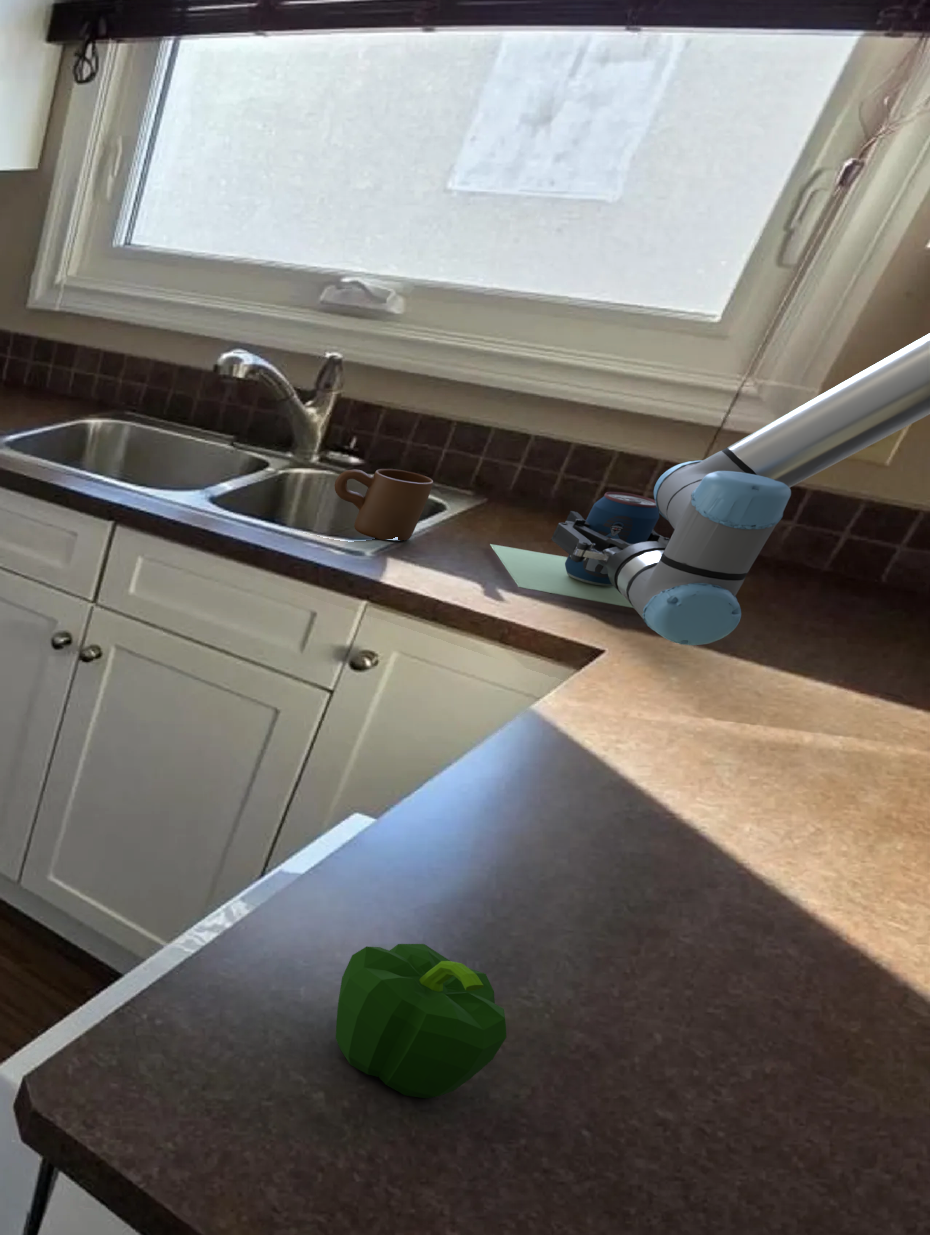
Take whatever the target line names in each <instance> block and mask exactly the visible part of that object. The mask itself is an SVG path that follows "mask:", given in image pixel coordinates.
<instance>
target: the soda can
mask: <svg viewBox="0 0 930 1235" xmlns="http://www.w3.org/2000/svg"><path fill="white" fill-rule="evenodd" d="M659 519H660V513H659V510H658V508H657V507H656V502H655V499H653V498H650V497H647V496H643V495H639V494H634V493H630V492H622V491H607V492H605V493H604V495H603V496H602V497H601V498H600V499H598V500H597V501H596V502H594V504H593V506H592V508H591V509H590V511H589V513H588V515H587V517H586V518H585V520H586V521H587V522H588V523H589V525H590V526H589V529H591V530H593V531H595V532H597V533H599V534H601V535H604V536H606V537H608V538H612V539H621V540H623V541H625V542H627V543H629V544H637V543H641V542H647V540H648V538H649V536H650V534H651V532H652V530H654V529H655V527H656V525H657V523H658V520H659ZM567 557H568V558H567V560H566V562H565V567H566V571H567V574H568V575H569V576H571V577H572V578H575V579H577V580H580V581H583V582H587V583H591V584H596V585H602V586H613V585H612V583H611V582H610V580H609V577H608V571H607V567H605V566H602V565H600V564H599V563H598V560H596V559H592V558H588V560H587V561H585V560H583V561H582V562H575V561H574V560H571V555H570V554H568V555H567Z"/></svg>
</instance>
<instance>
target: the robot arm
mask: <svg viewBox="0 0 930 1235" xmlns="http://www.w3.org/2000/svg"><path fill="white" fill-rule="evenodd" d="M927 416H930V332H929V333H928V334H926V335H924V336H922V337H921V338H918V339H917V340H915V341H913V342H912V343H909V344H908V345H906V346H904V347H903V348H901V349H899V350H898V351H896V352H894V353H892V354H890V355H888V356H887V357H884V358H883V359H882V360H880V361H878V362H876V363H875V364H873V365H871V366H869V367H867V368H866V369H863V370H862V371H860V372H859V373H856V374H854V375H853V376H852V377H849V378H848V379H846V380H844V381H842V382H841V383H839V384H837V385H835V386H834V387H832V388H830V389H828V390H826V391H825V392H823V393H821V394H819V395H817V396H816V397H814V398H812V399H811V400H809V401H807V402H805V403H803V404H802V405H800V406H798V407H796V408H794V409H793V410H791V411H790V412H788V413H786V414H784V415H782V416H780V417H778V418H777V419H775V420H773V421H772V422H770V423H768V424H767V425H764V426H763V427H761V428H759V429H757V430H755V431H754V432H752V433H750V434H749V435H747V436H745V437H744V438H741V439H739V440H738V441H736V442H734V443H732V444H731V445H729V446H728V447H725V448H723V449H721V450H720V451H717V452H715V453H714V454H712V455H709V456H708V457H707V458H704V459H703V460H701V459H700V460H691V461H690V460H689V461H686V462H682V463H679V464H676V465H674V466H672V467H670V468H669V469H667V470H666V471H665V472H663V474H661V475H660V477H659V478H658V479H657V480H656V483H655V485H654V487H653V498H654V499H653V500H655V502H656V507H657V508H658V511H659V515H661V516H662V517H663V518H664V519H665V520H667V521H668V523H669V524H670V525H671V527H672V529H674V530H673V532H672V535H671V537H670V538H669V537H664V536H663V535H661V534H659V533H658V532H656V531H655V529H653V530H652V532H651V534H650V536H649V538H648V540H647V542H641V543H637V544H629V543H627V542H625V541H623V540H621V539H612V538H608V537H606V536H604V535H601V534H599V533H597V532H595V531H593V530H591V529H589V526H590V525H589V523H588V522H587V521H586V518H585V519H584V517H583V516H582V515H581V514H580V513H579V512H578V511H573V510H570V511H569V514H568V515H567V517H566V519H565V522H558V524H557V525H556V528H555V530H554V532H553V533H552V537H551V538H550V541H552V542H553V543H554V544H555V545H557V546H558V547H559V548H561V550H563V551H565V553H567V554H568V555H569V554H570V555H571V560H574V561H575V562H582V561H583V560H585V561H587V560H588V558H592V559H596V560H598V563H599V564H600V565H602V566H605V567H607V571H608V577H609V580H610V582H611V583H612V585H613V586H614V587H615V588H616V589H617V590H618V591H619V592H620V593H621V594H622V595H623V596H624V597H625V598H626V599H627V600H628V601H629V603H630V604H631V605H632V606H633V607H634V608H633V609H634V610H635V611H636V613H638V614H639V616H640V617H641V618H642V620H643V622H644V623H645V625H646V626H647V627H649V628H650V629H651V630H652V631H654V632H655V633H656V634H658V635H659V636H660V637H662V638H664V639H666V640H667V641H669V642H672V643H675V644H679V645H681V646H683V645H684V646H701V645H708V644H712V643H714V642H717V641H720V640H722V639H723V638H726V637H727V636H729V635H730V634H731V633H732V632H733V631H734V630H735V629H736V628H737V627H738V625H739V623H740V621H741V618H742V609H741V605H740V603H739V602H738V601H739V600H738V597H737V594H738V593H739V590H740V589H741V587H742V585H743V584H744V581H745V580H746V577H747V575H748V573H749V571H750V569H751V568H752V566H753V565H754V563H755V561H756V560H757V558H758V556H759V555H760V553H761V551H762V550H763V547H764V546H765V544H766V542H767V541H768V539H769V537H770V536H771V534H772V533H773V531H774V530H775V527H776V526H777V524H779V522H780V521H781V520H782V519H783V516H784V511H785V509H786V506H787V505H788V502H789V500H790V498H791V496H792V490H791V487H794V486H796V485H797V484H799V483H801V482H803V481H805V480H807V479H809V478H811V477H812V476H813V477H814V475H817V474H818V473H820V472H822V471H824V470H826V469H828V468H830V467H832V466H833V465H835V464H837V463H840V462H841V461H843V460H845V459H847V458H849V457H851V456H853V455H854V454H857V453H859V452H860V451H862V450H864V449H867V448H868V447H870V446H872V445H874V444H876V443H878V442H880V441H881V440H884V439H885V438H887V437H889V436H891V435H893V434H895V433H897V432H898V431H901V430H902V429H904V428H906V427H908V426H911V425H913V424H914V423H916V422H918V421H919V420H922V419H924V418H925V417H927Z"/></svg>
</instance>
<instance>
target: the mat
mask: <svg viewBox="0 0 930 1235" xmlns="http://www.w3.org/2000/svg"><path fill="white" fill-rule="evenodd" d="M489 546H490V547H491V548H492V550H493V551H494V553H495V555H496V556H497V558H498V559H499V560H500V562H501V563H502V565H503V567H504V568H505V570H506V571H507V572H508V574H509V575H510V577H511V579H513V581H514V583H515V584H516V585H517V587H518V588H521V589H525V590H526V589H527V590H531V591H536V592H543V593H549V595H550V594H551V595H560V596H565V597H569V598H574V599H575V598H576V599H580V600H587V601H593V602H597V603H603V604H609V605H614V606H620V607H626V608H630V609H631V608H632V609H635V608H634V607H633V606H632V605H631V604H630V603H629V601H628V600H627V599H626V598H625V597H624V596H623V595H622V594H621V593H620V592H619V591H618V590H617V589H616V588H615V587H614V586H602V585H596V584H591V583H587V582H583V581H580V580H577V579H575V578H572V577H571V576H569V575H568V574H567V571H566V567H565V562H566V560H567V558H568V556H564V555H563V556H562V555H556V554H551V553H544V552H539V551H532V550H527V549H521V548H516V547H509V546H505V545H504V546H503V545H498V544H491V543H490V544H489Z"/></svg>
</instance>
